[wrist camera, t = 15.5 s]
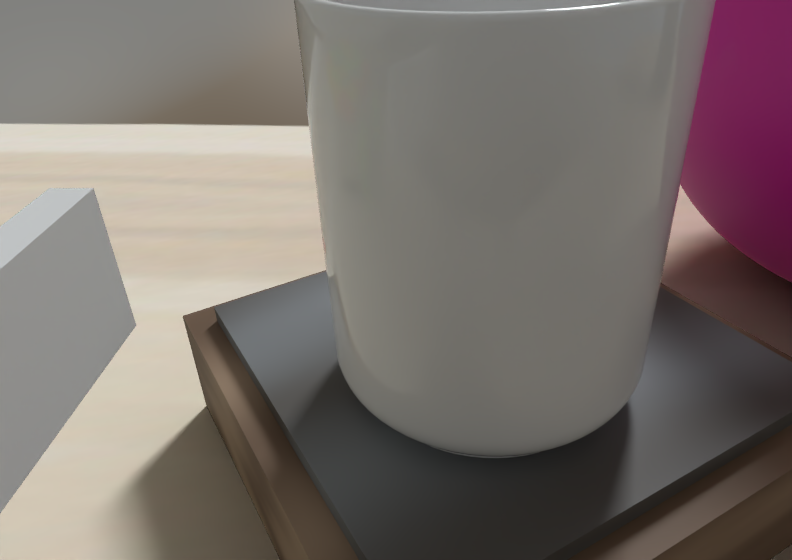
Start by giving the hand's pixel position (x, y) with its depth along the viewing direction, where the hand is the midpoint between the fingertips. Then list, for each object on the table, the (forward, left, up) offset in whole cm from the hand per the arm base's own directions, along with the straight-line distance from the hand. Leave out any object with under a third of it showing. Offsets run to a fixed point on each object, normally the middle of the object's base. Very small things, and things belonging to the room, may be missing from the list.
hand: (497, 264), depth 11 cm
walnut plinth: (+6, -5, -13) cm, 15 cm away
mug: (+7, -5, -8) cm, 11 cm away
